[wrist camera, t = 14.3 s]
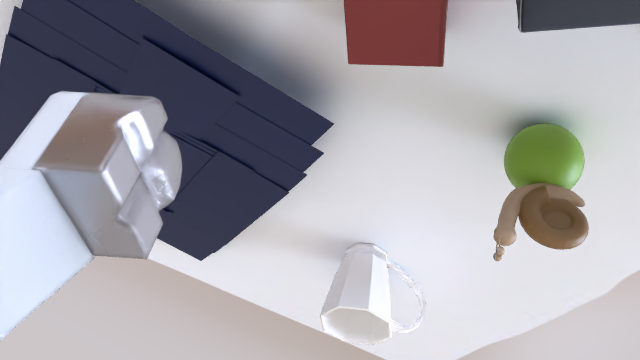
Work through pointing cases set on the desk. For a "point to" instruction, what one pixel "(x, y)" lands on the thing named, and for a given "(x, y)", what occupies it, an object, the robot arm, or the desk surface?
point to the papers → (166, 108)
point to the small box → (575, 14)
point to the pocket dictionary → (396, 32)
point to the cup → (365, 298)
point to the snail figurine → (543, 189)
